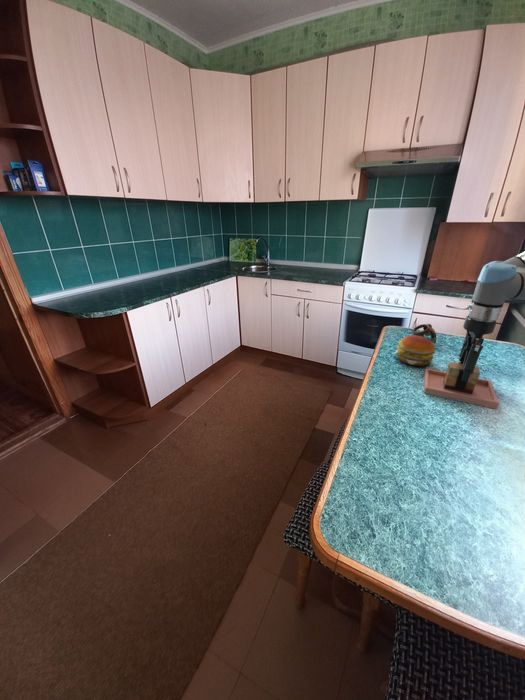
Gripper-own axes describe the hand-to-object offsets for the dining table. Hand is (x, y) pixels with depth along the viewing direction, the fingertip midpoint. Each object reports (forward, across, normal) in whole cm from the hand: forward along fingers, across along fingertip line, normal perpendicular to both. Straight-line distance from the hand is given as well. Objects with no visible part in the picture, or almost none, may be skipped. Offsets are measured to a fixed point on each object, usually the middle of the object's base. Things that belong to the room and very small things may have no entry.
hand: (458, 383), depth 96 cm
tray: (+2, 0, 0) cm, 2 cm away
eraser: (+2, 0, 0) cm, 2 cm away
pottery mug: (+3, -40, -10) cm, 41 cm away
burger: (+3, -16, -14) cm, 21 cm away
